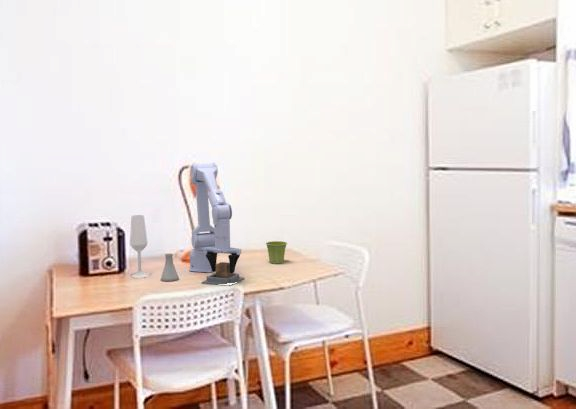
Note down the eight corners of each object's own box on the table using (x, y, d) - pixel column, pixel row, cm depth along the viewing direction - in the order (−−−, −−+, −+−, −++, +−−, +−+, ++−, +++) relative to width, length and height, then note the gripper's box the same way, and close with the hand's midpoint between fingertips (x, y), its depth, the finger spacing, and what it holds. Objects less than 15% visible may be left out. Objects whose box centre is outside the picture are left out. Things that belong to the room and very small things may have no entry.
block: (216, 280, 214) (215, 264, 213) (221, 277, 218) (221, 262, 217) (226, 281, 212) (226, 265, 212) (232, 278, 216) (231, 262, 216)
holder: (201, 283, 211) (201, 277, 211) (216, 276, 222) (216, 271, 222) (230, 286, 207) (230, 280, 207) (244, 278, 218) (244, 273, 218)
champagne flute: (131, 274, 228) (129, 215, 226) (148, 273, 230) (146, 214, 227) (131, 278, 221) (128, 217, 219) (148, 277, 223) (146, 216, 221)
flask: (162, 282, 213) (162, 256, 212) (158, 278, 220) (157, 253, 219) (181, 280, 217) (180, 254, 216) (176, 276, 223) (175, 251, 222)
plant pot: (291, 261, 250) (291, 242, 249) (279, 265, 242) (279, 245, 241) (273, 259, 255) (273, 240, 254) (261, 263, 247) (261, 243, 246)
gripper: (200, 237, 212) (201, 273, 213) (235, 239, 207) (235, 275, 208) (209, 234, 218) (210, 269, 220) (243, 236, 213) (244, 271, 214)
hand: (223, 272), depth 214 cm, fingers open, 7 cm apart
